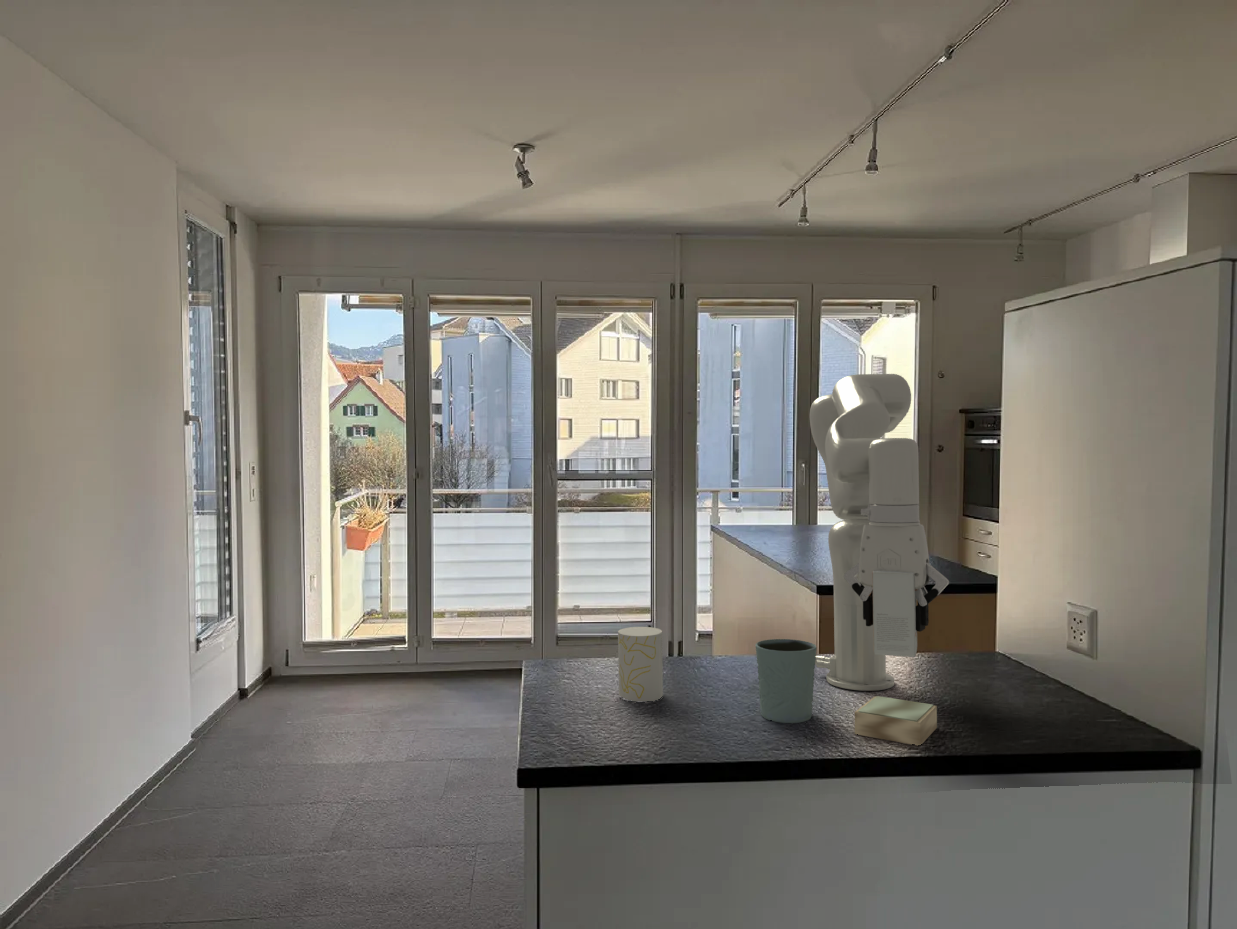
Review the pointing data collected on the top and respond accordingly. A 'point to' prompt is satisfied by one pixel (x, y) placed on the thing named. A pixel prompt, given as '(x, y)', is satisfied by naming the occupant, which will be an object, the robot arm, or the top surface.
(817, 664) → the robot arm
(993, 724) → the top surface
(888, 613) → the small box
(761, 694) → the green tumbler
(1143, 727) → the top surface
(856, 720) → the plinth
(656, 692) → the cream patterned cylinder
